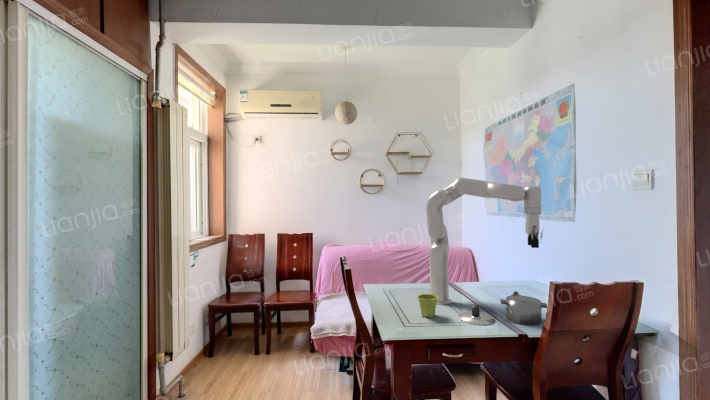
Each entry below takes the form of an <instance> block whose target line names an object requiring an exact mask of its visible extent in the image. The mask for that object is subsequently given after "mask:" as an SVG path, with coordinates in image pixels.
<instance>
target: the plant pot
mask: <svg viewBox="0 0 710 400" xmlns="http://www.w3.org/2000/svg"><path fill="white" fill-rule="evenodd" d="M417 298H418V303H419V308H420V315H421V316H422V317H424V318H427V317H428V318H433V317H435V315H436V309H437V308H436V306H437V304H436V302H437V299H438V297H437V296H435V295H431V294H422V293H421V294H419V295H417Z"/></svg>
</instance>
